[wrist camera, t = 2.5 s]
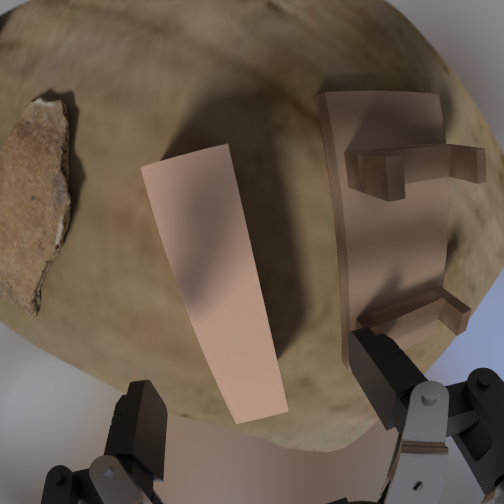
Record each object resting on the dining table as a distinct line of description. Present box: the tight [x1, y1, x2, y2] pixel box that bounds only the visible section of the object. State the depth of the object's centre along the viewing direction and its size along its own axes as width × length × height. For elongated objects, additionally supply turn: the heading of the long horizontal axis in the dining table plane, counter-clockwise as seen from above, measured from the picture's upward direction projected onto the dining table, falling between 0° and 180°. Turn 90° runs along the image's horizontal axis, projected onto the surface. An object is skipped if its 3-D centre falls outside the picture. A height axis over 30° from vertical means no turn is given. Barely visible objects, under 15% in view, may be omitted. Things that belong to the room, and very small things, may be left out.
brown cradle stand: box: [315, 91, 486, 373], centre depth 16 cm, size 20×9×6 cm, turn 12°
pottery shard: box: [0, 97, 71, 317], centre depth 14 cm, size 8×3×15 cm
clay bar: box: [141, 144, 288, 424], centre depth 16 cm, size 4×16×5 cm, turn 12°
